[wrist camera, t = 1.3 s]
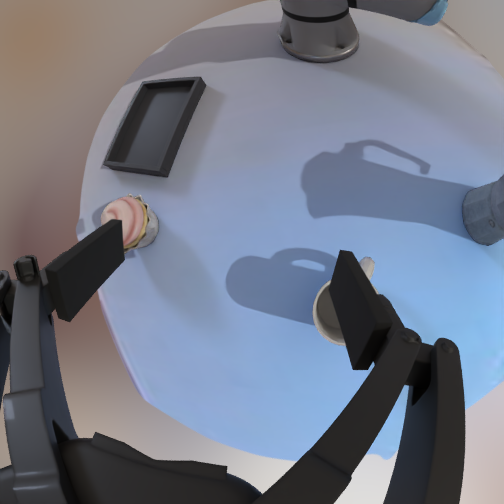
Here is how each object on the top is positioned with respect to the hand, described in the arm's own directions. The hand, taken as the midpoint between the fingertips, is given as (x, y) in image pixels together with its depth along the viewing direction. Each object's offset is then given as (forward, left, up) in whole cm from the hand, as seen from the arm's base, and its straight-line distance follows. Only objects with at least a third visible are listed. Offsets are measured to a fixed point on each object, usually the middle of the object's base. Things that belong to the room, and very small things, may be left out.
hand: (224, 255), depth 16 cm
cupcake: (0, -24, -22) cm, 33 cm away
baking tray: (-19, -30, -22) cm, 42 cm away
